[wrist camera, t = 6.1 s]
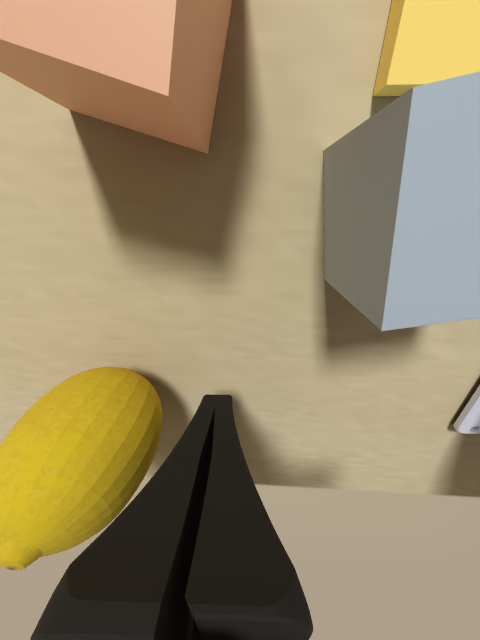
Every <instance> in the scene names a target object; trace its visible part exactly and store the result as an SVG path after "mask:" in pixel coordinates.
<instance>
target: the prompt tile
mask: <svg viewBox="0 0 480 640" xmlns="http://www.w3.org/2000/svg"><path fill="white" fill-rule="evenodd" d="M475 72H480V0H392V4H391V9H390V14H389V19H388V24H387V29H386V34H385V38H384V43H383V48H382V53H381V58H380V63H379V68H378V73H377V78H376V83H375V88H374V93H373V96H401V95H403V94H404V93H406V92H407V91H408V90H410V89H411V88H413V87H416V86H420V85H424V84H428V83H433V82H437V81H441V80H445V79H450V78H454V77H458V76H462V75H467V74H471V73H475Z"/></svg>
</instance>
